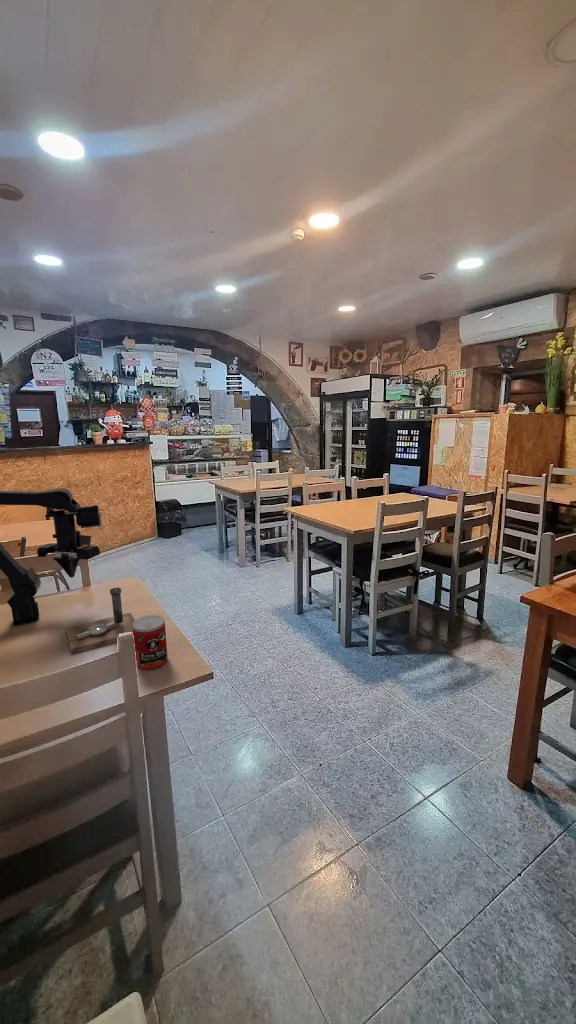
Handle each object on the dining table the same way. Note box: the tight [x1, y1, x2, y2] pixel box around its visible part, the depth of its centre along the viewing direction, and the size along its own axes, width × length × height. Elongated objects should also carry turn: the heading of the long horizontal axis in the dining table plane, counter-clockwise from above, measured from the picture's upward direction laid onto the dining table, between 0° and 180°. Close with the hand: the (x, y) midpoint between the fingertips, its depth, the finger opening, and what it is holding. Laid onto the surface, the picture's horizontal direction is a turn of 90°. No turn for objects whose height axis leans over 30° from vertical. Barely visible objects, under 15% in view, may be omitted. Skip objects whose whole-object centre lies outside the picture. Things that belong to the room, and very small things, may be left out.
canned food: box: [133, 614, 168, 671], centre depth 105 cm, size 8×8×11 cm
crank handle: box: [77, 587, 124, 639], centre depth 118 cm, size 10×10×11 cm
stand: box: [65, 612, 136, 655], centre depth 120 cm, size 19×14×2 cm
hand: (72, 577), depth 132 cm, fingers closed
